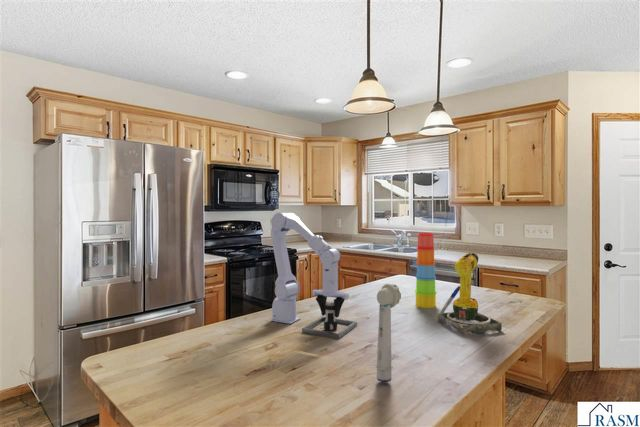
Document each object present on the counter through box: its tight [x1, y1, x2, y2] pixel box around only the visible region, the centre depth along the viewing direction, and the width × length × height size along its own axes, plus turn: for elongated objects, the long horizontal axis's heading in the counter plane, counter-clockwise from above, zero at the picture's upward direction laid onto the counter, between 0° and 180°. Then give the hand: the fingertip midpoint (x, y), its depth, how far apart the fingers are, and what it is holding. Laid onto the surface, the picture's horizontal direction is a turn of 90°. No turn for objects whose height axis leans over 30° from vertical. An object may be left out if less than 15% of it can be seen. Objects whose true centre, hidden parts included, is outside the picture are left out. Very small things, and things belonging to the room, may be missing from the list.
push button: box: [319, 301, 338, 331], centre depth 136 cm, size 7×5×10 cm
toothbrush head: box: [374, 283, 402, 383], centre depth 96 cm, size 5×7×25 cm
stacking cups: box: [414, 232, 438, 309], centre depth 167 cm, size 10×10×35 cm
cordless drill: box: [437, 252, 503, 335], centre depth 140 cm, size 18×19×28 cm
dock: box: [301, 316, 358, 340], centre depth 137 cm, size 15×17×2 cm
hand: (330, 315), depth 137 cm, fingers closed on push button, 5 cm apart
